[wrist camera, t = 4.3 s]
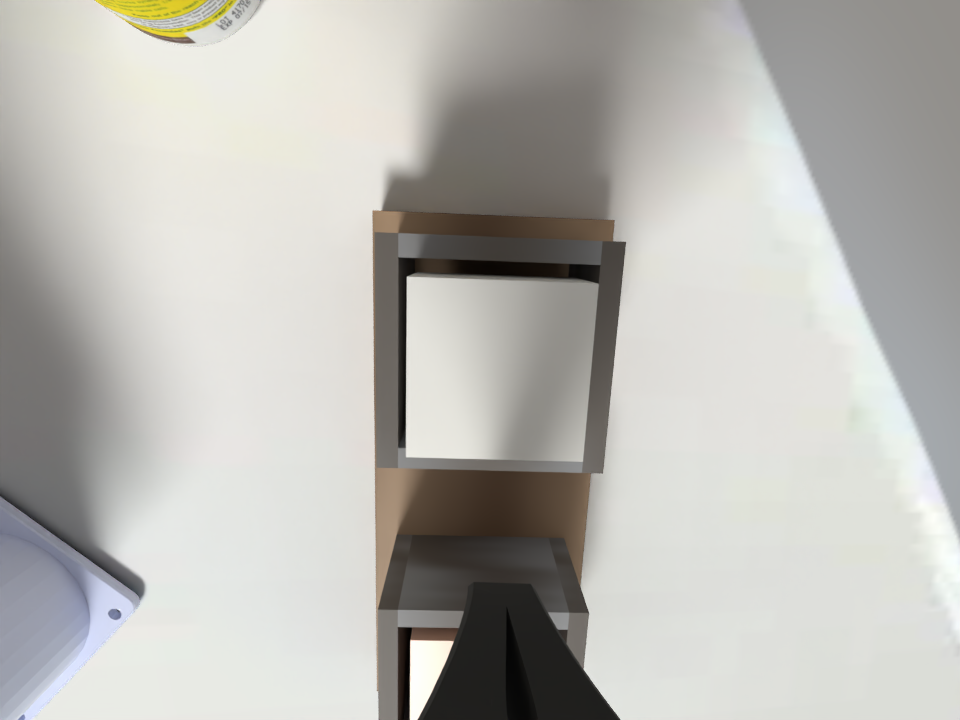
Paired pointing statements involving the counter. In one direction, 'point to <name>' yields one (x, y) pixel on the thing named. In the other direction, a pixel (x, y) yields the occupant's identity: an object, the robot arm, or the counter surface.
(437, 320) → the white key
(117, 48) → the counter surface
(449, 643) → the clay key
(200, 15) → the supplement bottle
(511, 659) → the robot arm
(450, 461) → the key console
